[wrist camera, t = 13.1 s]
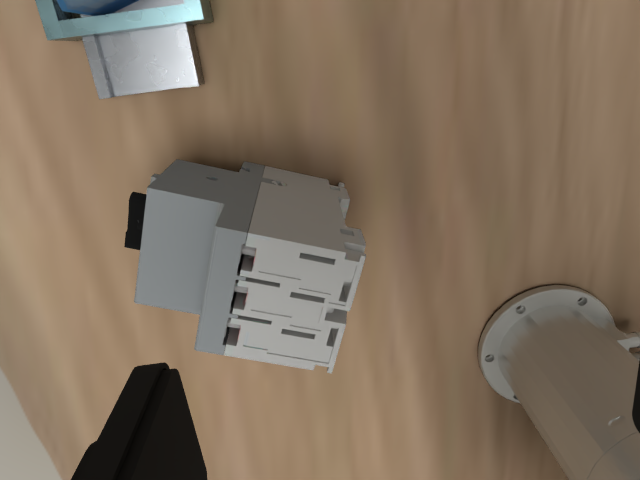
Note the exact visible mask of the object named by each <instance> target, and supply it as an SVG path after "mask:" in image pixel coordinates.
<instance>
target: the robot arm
mask: <svg viewBox="0 0 640 480" xmlns="http://www.w3.org/2000/svg"><path fill="white" fill-rule="evenodd" d="M633 347H637V348H639V347H640V331H637V332H633V333H628V334H625V333H624V332H622V331H619V330H618V329H617V328H616V326H615V323H614V320H613V317H612V315H611V314H610V312H609V310H608V309H607V308H606V307H605V306H604V305H603V304H602V303H601V302H600V301H599V300H598V299H597V298H595V297H594V296H593V295H591V294H590V293H588V292H586V291H584V290H582V289H580V288H576V287H571V286H565V285H551V286H543V287H539V288H535V289H532V290H529V291H526V292H524V293H522V294H520V295H518V296H516V297H514V298H513V299H511V300H510V301H509V302H507V303H506V304H504V305H503V306H502V307H501V308H500V309H499V310H498V311H497V312H496V313H495V314H494V315H493V316H492V318H491V319H490V320H489V322H488V323H487V325H486V327H485V329H484V331H483V333H482V335H481V338H480V342H479V345H478V360H479V366H480V369H481V371H482V373H483V375H484V377H485V379H486V380H487V382H488V383H489V385H490V386H491V387H492V388H493V389H494V390H495V391H496V392H497V393H498V394H500V395H501V396H503V397H504V398H506V399H508V400H511V401H513V402H516V403H521V405H522V407H523V408H524V410H525V411H526V413H527V415H528V416H529V418H530V419H531V421H532V422H533V424H534V426H535V427H536V429H537V430H538V432H539V434H540V435H541V437H542V438H543V440H544V441H545V443H546V445H547V446H548V448H549V449H550V451H551V453H552V454H553V456H554V457H555V459H556V460H557V462H558V464H559V465H560V467H561V468H562V470H563V471H564V473H565V475H566V476H567V478H568V479H569V480H640V351H638V352H635V353H630V352H629V348H633ZM71 480H207V471H206V467H205V463H204V460H203V456H202V452H201V449H200V445H199V442H198V438H197V435H196V431H195V428H194V424H193V420H192V417H191V413H190V410H189V406H188V403H187V399H186V396H185V392H184V389H183V385H182V381H181V378H180V375H179V372H178V370H177V369H169V366H168V365H167V364H166V363H157V364H150V365H142V366H137V367H135V368H134V369H133V371H132V373H131V375H130V377H129V379H128V381H127V383H126V385H125V387H124V389H123V390H122V392H121V394H120V396H119V398H118V400H117V402H116V404H115V406H114V408H113V410H112V412H111V414H110V416H109V418H108V420H107V422H106V424H105V426H104V428H103V430H102V432H101V434H100V436H99V438H98V440H97V441H95V442H94V443H92V444H91V445H90V446H89V447H88V449H87V450H86V452H85V454H84V456H83V458H82V459H81V461H80V463H79V465H78V467H77V469H76V471H75V473H74V475H73V477H72V479H71Z"/></svg>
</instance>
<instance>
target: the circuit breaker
mask: <svg viewBox="0 0 640 480" xmlns="http://www.w3.org/2000/svg"><path fill="white" fill-rule="evenodd" d="M264 167H265V169H264ZM263 172H264V173H263ZM344 185H345V184H344V183H341V182H339V184H338V186H333V185H329V181H328V180H327V179H323V178H318V177H314V176H309V175H305V174H300V173H296V172H291V171H286V170H282V169H277V168H273V167H268V166H264V165H259V164H255V163H250V162H244V163H243V165H242V168H241V169H240V172H234V171H230V170H225V169H220V168H216V167H211V166H206V165H202V164H197V163H192V162H188V161H183V160H178V159H176V160H175V161H174V162H173V163H172V164H171V165H170V166H169V167H168V168H167V169H166V170H165V171H164V172H163V173H162V174H160V175H158V174H154V175H153V176H151V183H150V185H149V186H148V187H147V195H146V194H141V193H137V192H132V193H131V196H130V199H129V214H128V229H127V232H126V237H125V247H126V248H132V249H137V250H140V257H139V265H138V274H137V283H136V292H135V300H134V302H135V303H138V304H143V305H149V306H154V307H160V308H165V309H171V310H176V311H182V312H188V313H193V314H199V315H200V319H199V324H198V330H197V336H196V342H195V348H194V349H195V350H196V351H202V352H208V353H214V354H220V355H225V356H231V357H237V358H243V359H249V360H255V361H261V362H267V363H273V364H279V365H285V366H291V367H297V368H303V369H309V370H314V367H315V365H319V366H325V367H328V368H327V373H332V370H333V367H334V364H335V360H336V357H337V353H338V350H339V347H340V343H341V340H342V336H343V333H344V330H345V326H346V316H347V311H350V309H351V306H352V302H353V299H354V295H355V292H356V289H357V285H358V282H359V278H360V275H361V272H362V268H363V265H364V261H365V258H366V254H364V250H365V246H366V244H365V240H364V237H363V234H362V232H361V229H356V228H351V227H346V224H345V217H346V213H347V209H348V206H349V202H350V198H349V195H348V192H347V190H346V188H344ZM256 199H257V200H256ZM228 334H229V335H228ZM227 338H228V339H227ZM226 342H227V343H226ZM225 347H226V348H225ZM224 351H225V353H224Z"/></svg>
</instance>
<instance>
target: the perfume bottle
mask: <svg viewBox="0 0 640 480" xmlns="http://www.w3.org/2000/svg"><path fill="white" fill-rule="evenodd" d="M56 1H57V3H58V4H59V6H60V8H61V10H62V11H65V12H71V13H78V14H84V15H90V16H98V15H106V14H112V13H114V12H116V11H118V10H120V9H122V8H124V7H126V6H128V5H130V4H132V3H134V2H137V1H139V0H56Z"/></svg>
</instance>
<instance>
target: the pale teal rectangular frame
mask: <svg viewBox="0 0 640 480" xmlns="http://www.w3.org/2000/svg"><path fill="white" fill-rule="evenodd" d="M35 1H36V4H37V7H38V11H39V14H40V17H41V20H42V24H43V27H44V30H45V33H46V37H47V40H58V41H78V40H83V43H84V47H85V50H86V54H87V57H88V61H89V64H90V68H91V71H92V75H93V78H94V82H95V85H96V89H97V92H98V96H99V99H104V98H111V97H115V96H123V95H130V94H138V93H145V92H152V91H160V90H167V89H175V88H182V87H194V86H200V85H202V84H205V83H204V78H203V74H202V69H201V64H200V59H199V54H198V49H197V44H196V39H195V34H194V29H193V25H197V24H204V23H211V22H213V17H212V11H211V6H210V1H209V0H139V1H137V2H134V3H132V4H130V5H128V6H126V7H124V8H122V9H120V10H118V11H116V12H114V13H112V14H106V15H98V16H90V15H84V14H78V13H71V12H65V11H62V10H61V8H60V6H59V4H58V3H57V1H56V0H35Z"/></svg>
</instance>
